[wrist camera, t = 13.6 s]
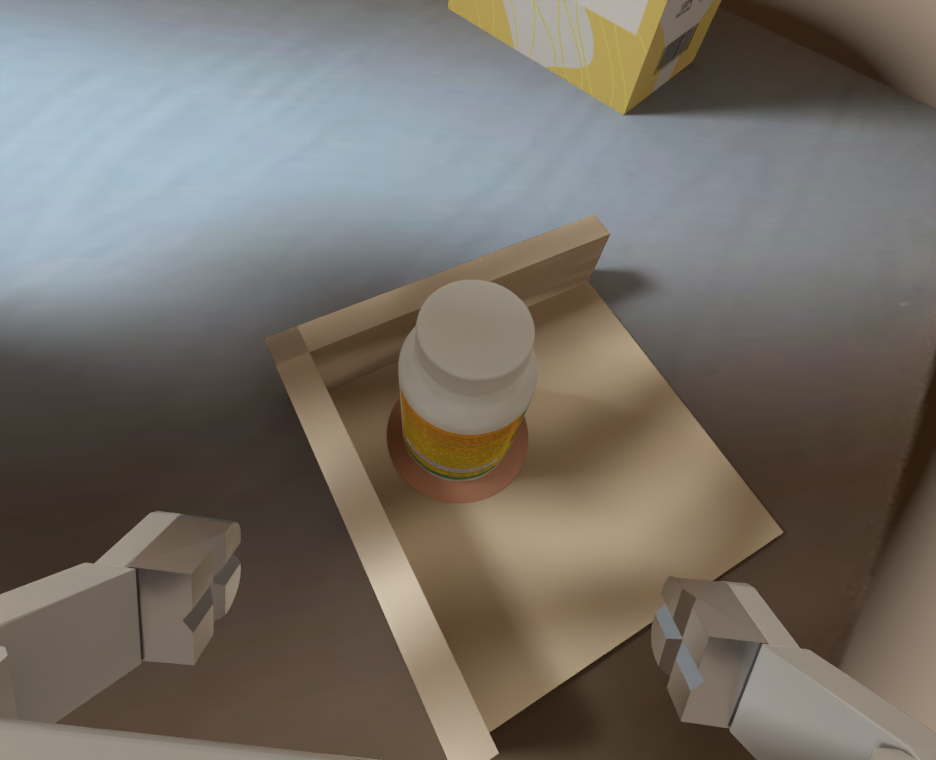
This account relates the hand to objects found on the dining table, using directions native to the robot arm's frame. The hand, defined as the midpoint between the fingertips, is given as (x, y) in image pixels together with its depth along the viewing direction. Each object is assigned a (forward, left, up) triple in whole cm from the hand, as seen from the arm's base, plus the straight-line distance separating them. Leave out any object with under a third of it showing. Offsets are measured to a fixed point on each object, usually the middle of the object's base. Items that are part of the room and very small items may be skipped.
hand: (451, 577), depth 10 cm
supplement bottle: (-7, +5, -14) cm, 16 cm away
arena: (-4, +7, -14) cm, 16 cm away
